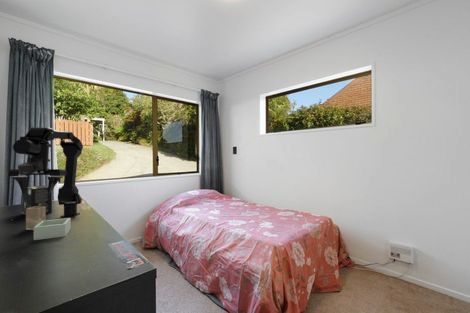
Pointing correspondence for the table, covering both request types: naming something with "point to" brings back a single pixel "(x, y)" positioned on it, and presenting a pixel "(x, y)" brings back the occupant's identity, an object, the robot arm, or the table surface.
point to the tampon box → (37, 198)
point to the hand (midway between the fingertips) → (36, 193)
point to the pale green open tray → (52, 228)
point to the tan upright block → (34, 216)
